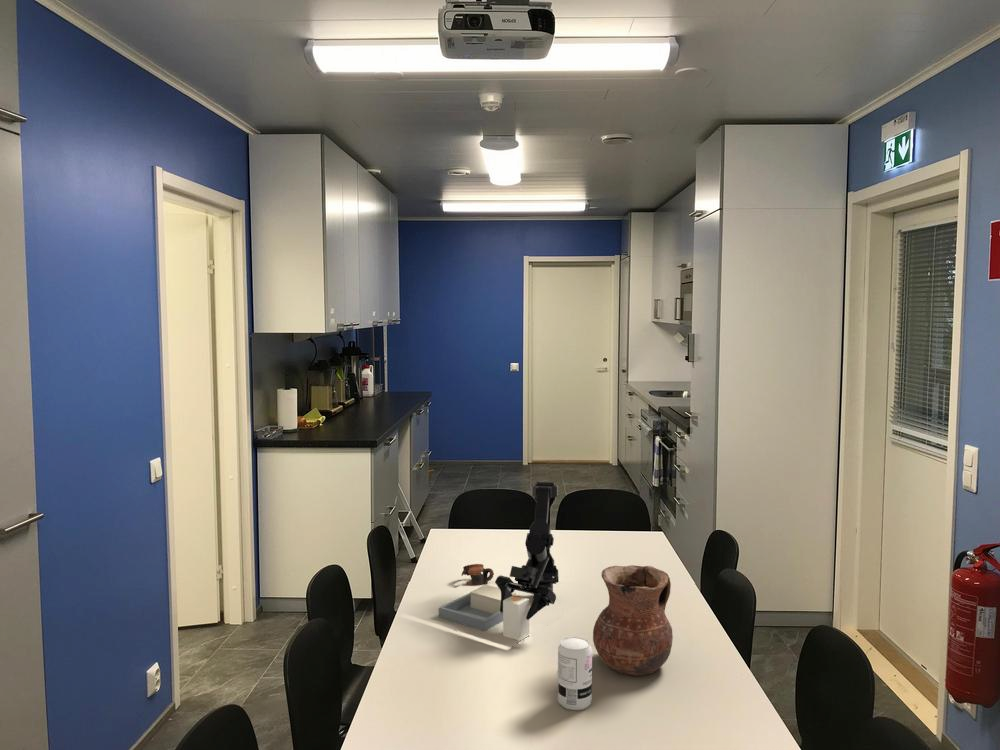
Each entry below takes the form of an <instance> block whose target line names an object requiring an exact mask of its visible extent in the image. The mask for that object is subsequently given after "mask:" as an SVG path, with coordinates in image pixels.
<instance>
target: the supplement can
mask: <svg viewBox="0 0 1000 750" xmlns="http://www.w3.org/2000/svg"><path fill="white" fill-rule="evenodd" d="M592 673H593V648H592V647H591V644H590V641H588V639H585V638H583V637H579V636H568V637H565V638H562V639H561V641H560V643H559V645H558V646H557V702H558V703H559V705H561V707H563V708H564V709H567V710H570V711H582V710H586V709H587V708H588V707H589V706H590V705H591V704H592V703H593V702H592V700H593V684H592V683H593V674H592Z"/></svg>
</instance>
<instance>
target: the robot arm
mask: <svg viewBox="0 0 1000 750" xmlns="http://www.w3.org/2000/svg"><path fill="white" fill-rule="evenodd" d="M531 494H532V497H534V501H535V509H534V510H535V511H534V520H533V522H532V523H531V525H530V526H529V531H528V532H527V533H526V538H525V543H524V544H525V545H524V546H525V548H526V553H527V558H528V559H527V561H526V562H525V564H522V565H521V567H518V566H514V565H511V569H510V572H509V576H505V575H501V574H500V575H498V576H497V577H496V579H495V581H494V583H495V585H496V586H497V588H499V589H500V590H501V605H500V612H501V613H503V600H505V599H507V598H509V597H511V596H513V595H512V593H513V592H515V591H519V592H523V593H527V594H531V595H533V598H532V599H533V601H532V602H531V605H530V606H529V611H528V614H527V617H526V619H527V620H529V621H530V619H532V617H534V616H535V615H536V614H537V613H538V612H540V611H541V610H542V609H544V608H546V606H548V607H549V606H550V604H551V605H554V604H555V602H556V600H557V595H556V593H555V592H554V585H556V584H557V583H559V569H558V568H557V565H556V564H555V558H554V557H553V556H552V553H551V548H552V546H553V545H554V540H555V538H554V537H553V536H554V535H553V534H552V533H551V532H552V531H551V530H552V528H551V527H552V525H551V523H552V508H553V506H554V505H555V503H556V502H557V497H558V496H559V484H555V481H536V483H534V484H532V493H531ZM511 578H514V581H515V582H514V581H513V580H512V579H511Z"/></svg>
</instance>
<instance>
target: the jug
mask: <svg viewBox="0 0 1000 750" xmlns="http://www.w3.org/2000/svg"><path fill="white" fill-rule="evenodd" d="M600 576H601V578H602V580H603V583H605V584H604V585H605V587H606V588H607V592H608V596H609V597H608V598H609V599H608V605H607V606H606V607H604V609H602V610H601V612H600V613H599V615H598V616H597V619H596V621H595V623H594V625H593V631H592V642H593V646H594V647H595V651H597V654H598V655H599V657H600V659H601V660H602V662H604V663H605V665H607V666H608V667H609V668H610V669H612V670H613V671H616V672H619V673H621V674H623V675H628V676H632V677H633V676H634V677H636V676H639V677H640V676H648V675H651V674H654V673H655V672H656V671H657V670H659V669H660V668H661V667H662V666H663V665H664V664H665V663H666V662H667V661H668V659H669V657H670V654H671V650H672V647H673V637H674V636H673V628H672V625H671V622H670V621H669V619H668V617H667V615H666V608H667V603H668V601H669V598H670V595H671V589H672V588H671V586H672V583H671V578H670V576H669V575H668V573H667V572H665V571H664V570H661V569H658V568H656V567H654V566H652V565H645V566H643V565H641V566H640V565H625V566H623V565H612V566H608V567H606V568H604V569H603V570H602V571H601V575H600Z"/></svg>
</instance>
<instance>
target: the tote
mask: <svg viewBox="0 0 1000 750" xmlns="http://www.w3.org/2000/svg"><path fill="white" fill-rule="evenodd" d="M438 618H441V619H444V620H447V621H450V622H453V623H456V624H461V625H464V626H467V627H470V628H472V629H476V630H479V631H482V632H486V631H488V630H489V629H491V628H494V627H495V626H498V625H499V624H501V623H503V613H501V612H500V611H499V612H497V613H495V614H493V613H489V612H486V611H482V610H479V609H475V608H472V607H471V594H470V592H469V593H467V594H465V595H462V596H460V597H458V598H455V599H454V600H451V601H450V602H447V603H446V604H443V605H441V606H438Z"/></svg>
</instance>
